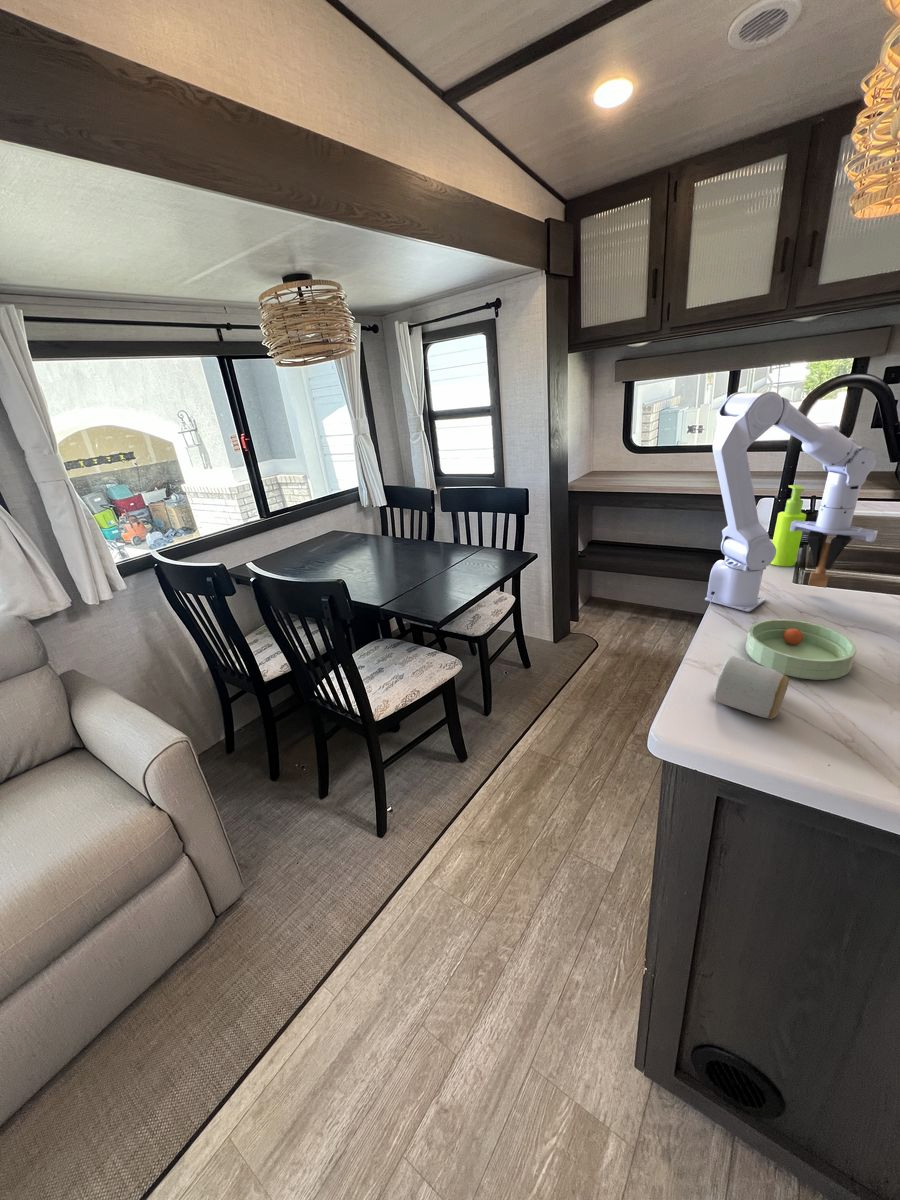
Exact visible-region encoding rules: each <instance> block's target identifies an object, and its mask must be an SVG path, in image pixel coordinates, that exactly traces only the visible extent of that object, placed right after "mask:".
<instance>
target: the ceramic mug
mask: <svg viewBox="0 0 900 1200" xmlns="http://www.w3.org/2000/svg"><path fill="white" fill-rule="evenodd" d="M789 682H790V679H789V677H788V675H784V674H782V673H780V672H778V671H775V670H773V669H770V668H767V667H764V666H763V665H761V664H759V663H755V662H752V661H750V660H747V659H743V658H741V657H738V656H736V655H735V656H734V655H730V656H729V657H728V658H727V659H726V661H725V663H724V664H723V665H722V668H721V671H720V674H719V676H718V678H717V682H716V685H715V690H714V694H713V695H714V697H713V699H714V701H715V702H716V703H719V704H721V705H725V706H728V707H730V708H733V709H736V710H739V711H743V712H746V713H748V714H751V715H753V716H757V717H759V718H764V719H770V720H772V719H775V718H776V717H777V716H778V714H779V712H780V710H781V707H782V705H783V702H784V699H785V697H786V693H787V690H788V686H789V684H790V683H789Z"/></svg>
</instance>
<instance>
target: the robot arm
mask: <svg viewBox="0 0 900 1200" xmlns="http://www.w3.org/2000/svg"><path fill="white" fill-rule="evenodd" d="M716 419H717V425H716V430H715V434H714V439H713V442H712V452H713V458H714V464H715V468H716V473H717V478H718V483H719V488H720V493H721V498H722V503H723V508H724V513H725V517H726V522H727V526H725V527H724V528H723V529H722V530H721V534H722V535H721V536H722V539H721V540H722V541H721V543H720V551H721V553H722V554H723V555H724V560H723V559H719V560H717V561H716V562H715V563H714V564H713V565H712V568H711V571H710V574H709V580H708V585H707V593H706V597H705V598H704V601H706V602H710V603H713V604H717V605H720V606H723V607H728V608H731V609H736V610H739V611H743V612H746V613H750V612H752V611H753V610H754V609H756V608H758V606H760V605H761V604H763V603H764V602H765V598H762V597H759V593H760V589H761V584H762V579H763V574H764V570H766V569H767V567H768V566H770V565H771V562H772V561H773V560H774V558H775V555H776V548H775V545H774V544H773V543H772V540H771V539H770V535H769V532H768V531H767V530H766V528H765V527H764V526H763V525H762V524H761V522H760V520H759V515H758V510H757V503H756V497H755V491H754V486H753V480H752V475H751V474H752V473H751V469H750V463H749V458H748V451H747V450H748V448H749V447H750V446H751V445H752V444H753V443H754V442H756V440H758V439H759V438H760V437H761V436H763V434H765V433H766V432H767V431H768V430H769V429H770V428H771V427H773V426H775V427H776V428H779V429H781V430H782V431H784V432H785V433H787V434H789V435H790V436H792V437H794V438H795V439H798V440H799V441H801V443H802V444H801V450H802V451H803V452H804V453H806V455H809V456H810V457H812V458H813V459H815V460H816V461H817V462H819V463H821V465H822V469H823V471H824V472H827V477H826V481H825V485H824V490H823V494H822V498H821V502H820V507H819V510H818V514H817V519H816V521H809V520H808V521H806V520H805V521H796V520H795V521H793V522H792V523H791V527H790V531H803V532H805V533H808V535H807V536H806V541H807V543H808V546H809V548H810V553H811V559H812V565H811V566H812V567H813V568H817V564H818V560H819V557H820V553H821V549H822V546H823V542H825V541H827V538H828V536H832V537H833V538H831V539H830V542H831V546H830V553H829V557H828V560H827V563H826V567H825V569H827V570H830V569H832V568H833V567H834V564H835V562H836V560H837V558H838V557H839V556H840V554H841V553H842V551H843V550H844V549H845V548H846V547H847V546H848V545H849V543H851V542H852V541H853V540H862V541H866V542H869V543H873V542H875V541H876V539H877V535H878V533H879V530H875V529H868V528H863V527H859V526H855V525H852V521H853V518H854V514H855V510H856V506H857V503H858V499H859V495H860V492H861V488H862V486H863V485H864V483H866V480H867V477H868V475H869V474H870V473H871V472H872V471H873V470H874V468H875V467H876V465H877V462H878V461H877V460H876V455H875V453H874V451H873V450H872V449H871V448H869V447H867V446H858V444H857V443H856V442H857V440H856V439H855V438H851V437H847V436H846V435H844V434H843V433H841V432H840V430H841V428H840V426H838V425H833V424H831V425H829V424H825V425H820V426H818V425H817V424H816V423H815V422H813V421H812V420H811V419H809V418H808V417H807V416H806V415H805V414H803V413H802V412H801V411H800V410H799V409H797V408H796V407H795V406H794V405H793V404H791V402H790V400H789V399H788V398H786V397H784V396H782V395H780V394H779V393H778V392H775V391H765V392H744V391H737V392H734V393H732V394H730V395H729V396H728V397H727V398H725V400H724V401H723V403H722V404H721V406H720V407H719V409H718V410H717V411H716ZM803 532H802V533H803ZM714 595H715V597H714ZM713 597H714V599H713ZM712 599H713V601H712Z"/></svg>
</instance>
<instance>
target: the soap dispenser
mask: <svg viewBox="0 0 900 1200" xmlns="http://www.w3.org/2000/svg"><path fill="white" fill-rule="evenodd" d="M788 488H790V489H792V494H791V498H788V499H787V500H786V503H785V507H784V511H780V512H778V513H777V516H776V517H777V518H776V523H775V527H774V531H773V536H772V540H771V542H772V543H773V544H774V545H775V548H776V555H775V558H774V560H773V561H772V562H771V563H770V565H773V566H778V567H793V566H795V565H796V562H797V558H798V553H799V550H800V549H799V548H800V545H801V540H802V537H803V531H790V527H791V523H792V522H793V521H795V520H796V521H806V520H807V514H806V513H804V512H802V509H803V506H804V505H803V504H804V500H803V499H802V498H801V495H802V492H804V491H805V488H804V487H803V486H802V485H801V484H791V485H789V484H788Z"/></svg>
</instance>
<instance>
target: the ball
mask: <svg viewBox="0 0 900 1200" xmlns="http://www.w3.org/2000/svg"><path fill="white" fill-rule="evenodd" d="M783 638H784V640H785V642H787V643H788V644H791V645H797V644H799V643H801V642H802V641H803V634H802V632H801V631H799V630H797V629H788V630H787V631H785V633H784V635H783Z"/></svg>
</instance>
